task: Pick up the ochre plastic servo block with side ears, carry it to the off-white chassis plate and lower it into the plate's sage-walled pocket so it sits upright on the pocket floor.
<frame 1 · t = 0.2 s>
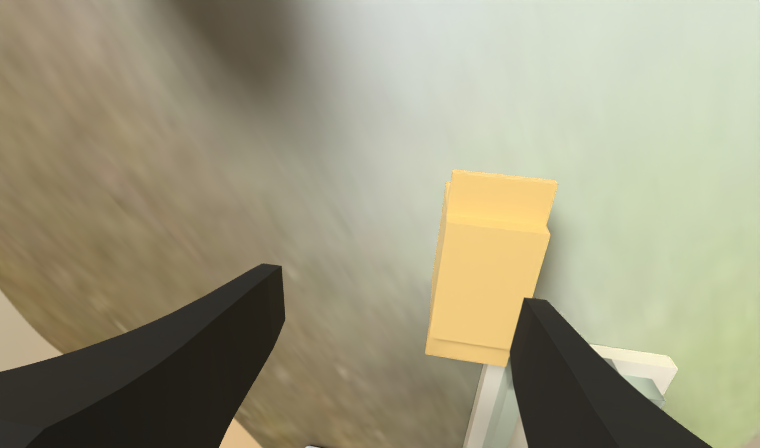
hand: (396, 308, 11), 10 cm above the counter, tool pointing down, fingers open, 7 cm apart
servo: (475, 237, 21), on the counter
chassis: (551, 411, 25), on the counter
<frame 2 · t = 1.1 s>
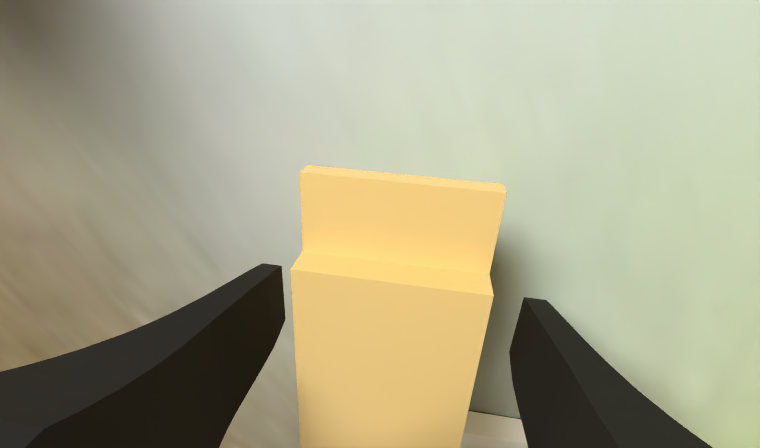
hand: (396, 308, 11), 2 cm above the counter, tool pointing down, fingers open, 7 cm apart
servo: (401, 273, 13), on the counter
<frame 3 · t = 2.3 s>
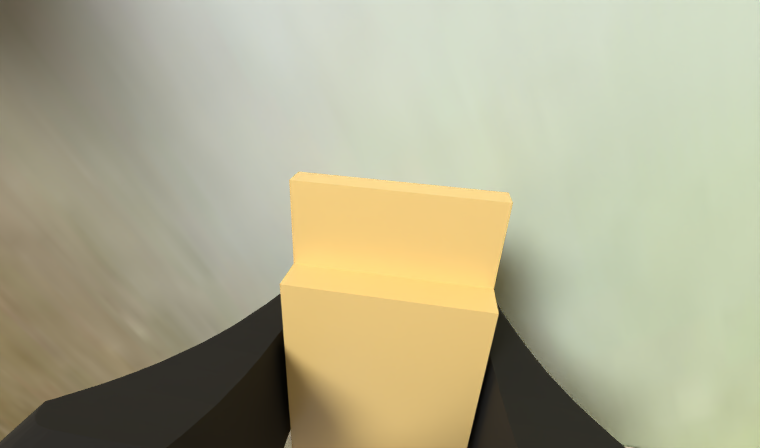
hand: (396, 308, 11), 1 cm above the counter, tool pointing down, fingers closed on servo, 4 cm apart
servo: (400, 281, 13), on the counter, touching gripper
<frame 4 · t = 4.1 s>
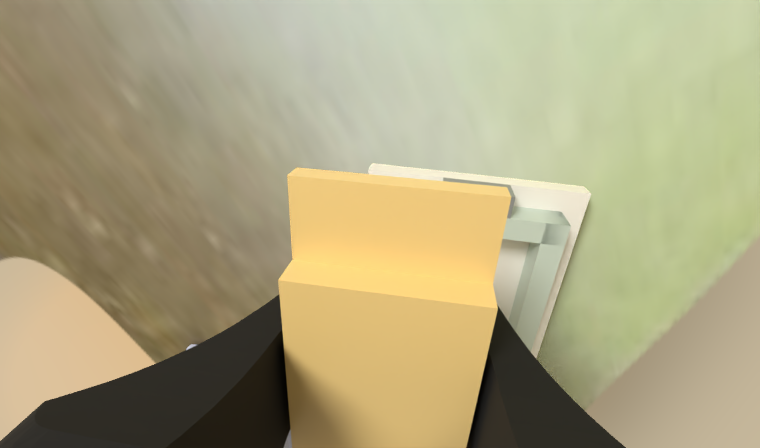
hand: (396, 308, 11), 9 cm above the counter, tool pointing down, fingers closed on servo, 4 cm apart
servo: (400, 279, 13), point 7 cm above the counter, touching gripper
chassis: (455, 278, 21), on the counter
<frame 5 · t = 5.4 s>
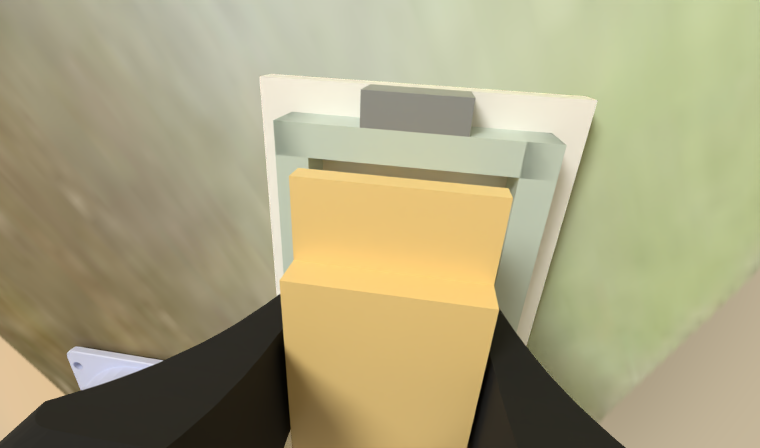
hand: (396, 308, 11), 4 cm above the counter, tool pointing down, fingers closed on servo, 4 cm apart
servo: (400, 279, 13), point 2 cm above the counter, touching gripper
chassis: (406, 248, 15), on the counter
when the fingers open (3 cm above the counter, at t = 6.3 s): servo stays where it is, resting on chassis.
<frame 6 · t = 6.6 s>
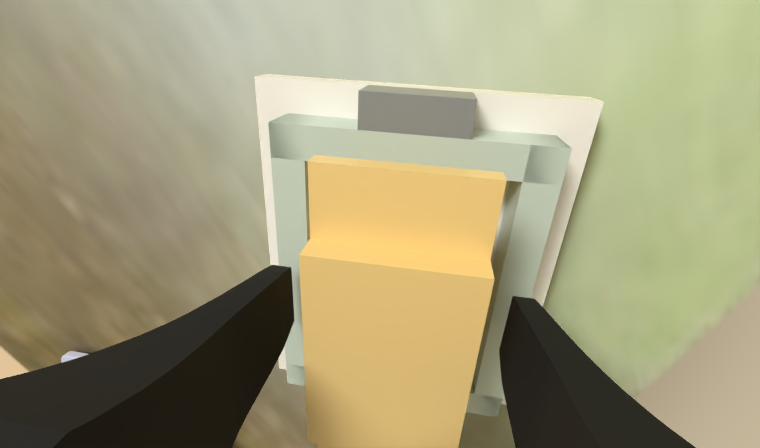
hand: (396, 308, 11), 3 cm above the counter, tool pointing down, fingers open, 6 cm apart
servo: (404, 264, 13), point 1 cm above the counter, touching chassis
chassis: (406, 252, 14), on the counter
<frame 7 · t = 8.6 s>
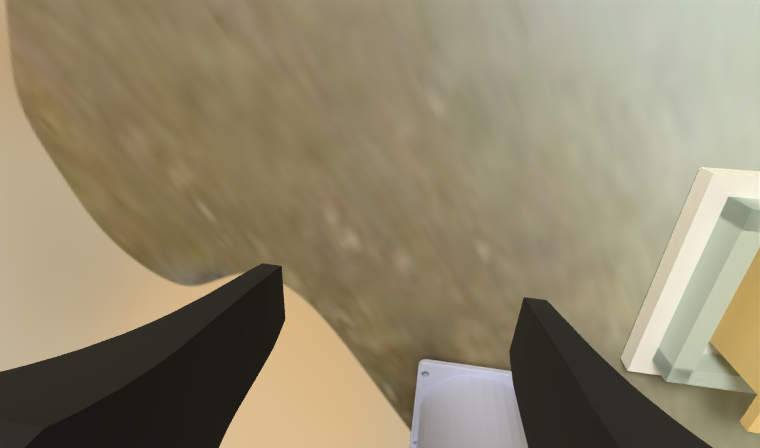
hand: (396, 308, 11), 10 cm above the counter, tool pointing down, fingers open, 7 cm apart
chassis: (758, 285, 20), on the counter
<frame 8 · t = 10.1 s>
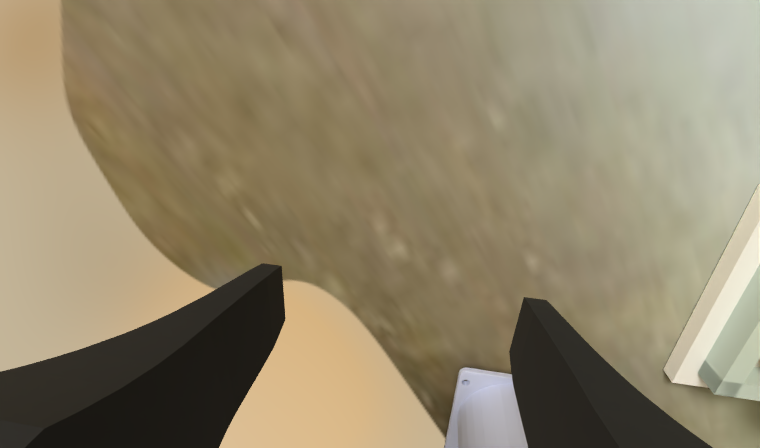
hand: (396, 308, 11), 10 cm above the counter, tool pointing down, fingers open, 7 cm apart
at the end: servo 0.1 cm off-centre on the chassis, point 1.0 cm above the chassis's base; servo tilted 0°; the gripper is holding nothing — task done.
